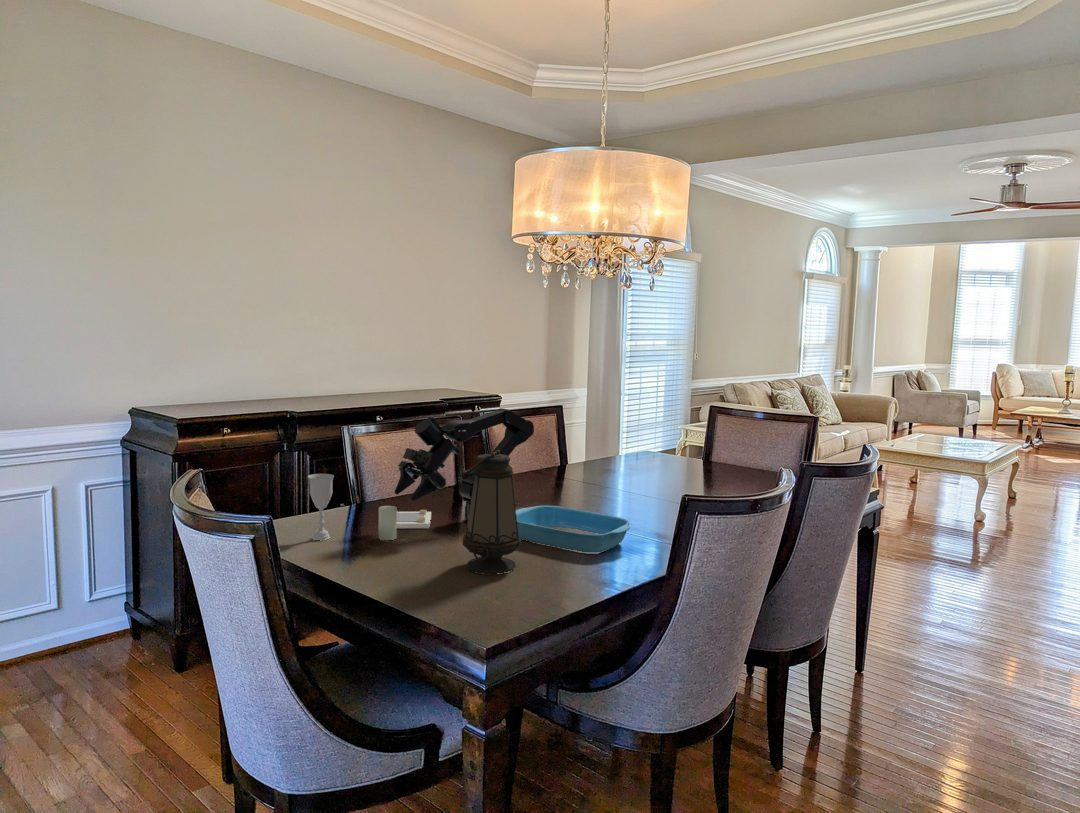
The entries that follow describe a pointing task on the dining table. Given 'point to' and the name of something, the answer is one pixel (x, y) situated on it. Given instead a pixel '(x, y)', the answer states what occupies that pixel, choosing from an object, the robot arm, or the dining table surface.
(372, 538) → the dining table surface
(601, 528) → the casserole dish
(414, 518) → the display tile
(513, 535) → the lantern
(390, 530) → the sage green capsule
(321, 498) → the chalice
